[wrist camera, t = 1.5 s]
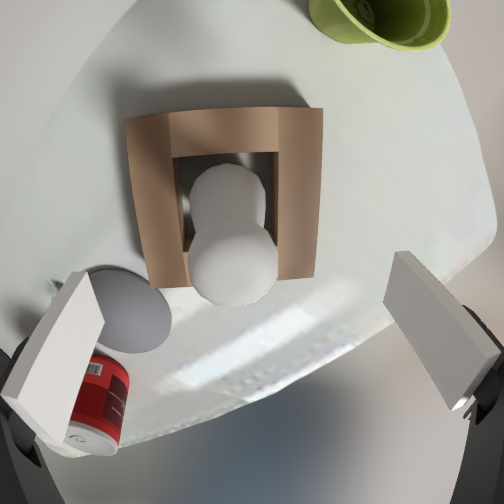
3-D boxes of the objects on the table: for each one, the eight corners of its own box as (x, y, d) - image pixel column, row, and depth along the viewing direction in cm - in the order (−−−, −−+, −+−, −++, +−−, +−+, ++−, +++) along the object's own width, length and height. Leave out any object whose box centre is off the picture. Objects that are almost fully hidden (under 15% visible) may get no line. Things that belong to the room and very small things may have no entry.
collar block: (156, 270, 27) (151, 288, 24) (135, 117, 21) (124, 119, 18) (304, 260, 28) (313, 277, 26) (310, 107, 22) (323, 108, 19)
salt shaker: (253, 150, 23) (289, 199, 12) (268, 214, 26) (308, 309, 14) (182, 169, 23) (148, 237, 12) (202, 231, 26) (193, 337, 14)
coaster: (94, 348, 31) (92, 352, 31) (62, 271, 26) (60, 274, 25) (179, 349, 32) (179, 352, 32) (160, 265, 27) (159, 269, 26)
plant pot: (403, 54, 20) (468, 47, 12) (313, 73, 20) (360, 61, 13) (365, -32, 15) (416, -65, 8) (269, -20, 16) (294, -69, 8)
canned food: (67, 365, 32) (43, 430, 23) (95, 343, 31) (70, 418, 21) (109, 395, 36) (96, 459, 26) (142, 377, 34) (130, 451, 24)
